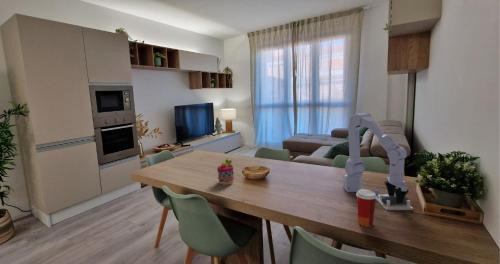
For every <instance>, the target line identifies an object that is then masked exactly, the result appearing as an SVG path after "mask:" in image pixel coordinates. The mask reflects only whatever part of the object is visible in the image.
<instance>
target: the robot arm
mask: <svg viewBox="0 0 500 264" xmlns="http://www.w3.org/2000/svg"><path fill="white" fill-rule="evenodd" d="M348 122H349V123H348V128H347V129H348V151H349V153H348V154H349V158H348V159H347V160H346V161H345V165H344V166H345V167H344V171H345V172H346V174H343V176H342V177H343V178H342V179H343V180H342V188H343V189H344V190H345V192H346V193H357V192H358V190H361V189H363V188H362V185H363V184H362V183H363V182H362V180H363V174H364V172H365V170H366V167H365V164H364V160H363V159H362V158H361V145H360V140H361V139H360V130H362V128H367V129H369V131H371V132H372V134H373V135H374V136H375V137H377V139H378V143H379V144H380V146H381V147H382V148H383V149H384V150H385V151H386V152H387V153H386V154H387V158H388V160H389V174H388V176H386V181H384V185H385V187H386V190H387V194H388V195H389V196H394V193H395V194H396V201H397V203H402V202H403V200H404V197H407V195H408V193H409V192H410V191H409V189H408V186H406V180H404V175H405V159H406V158H407V157H408V150H407V149H406V148H405V147H404V146H401V145H399V143H397V142H396V141H395V139H393V136H391V135H389V134H385V133H384V131H383V130H382V129H381V127H380V126H379V125H378V123H377V122H376V121H375V118H374V116H372V114H371V113H369V112H362V113H353V114H352V115H351V116H350V117H349V121H348Z"/></svg>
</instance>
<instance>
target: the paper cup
mask: <svg viewBox="0 0 500 264" xmlns="http://www.w3.org/2000/svg"><path fill="white" fill-rule="evenodd" d="M355 193H356V194H355V196H356V203H357V205H356V206H357V208H356V209H357V222H358V224H359V225H360V226H362V227H366V228H370V227H372V226H373V224H374V217H375V216H374V214H375V208H376V207H375V206H376V197H377V196H376V194H375V191H373V190H369V189H366V188H365V189H364V188H362V189H361V190H358V192H355Z"/></svg>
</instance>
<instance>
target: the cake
mask: <svg viewBox="0 0 500 264" xmlns="http://www.w3.org/2000/svg"><path fill="white" fill-rule="evenodd" d="M232 162H233V160H231V159H228V158H227V159H225V160H224V161H222V162H221V165H219V166H217V176H218V177H217V179H218V185H220V184H222V185H221V186H223V185H226V186H229V185H228V184H231V185H233V184H234V183H233V182H235V181H234V180H235V175H234V166H233V164H232ZM232 183H233V184H232Z"/></svg>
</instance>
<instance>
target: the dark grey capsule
mask: <svg viewBox="0 0 500 264" xmlns="http://www.w3.org/2000/svg"><path fill="white" fill-rule="evenodd" d="M387 200H390V204H406V202H407V200H409V198H408V197H407V196H405V197H404V200H403V202H402V203H397V201H396V196H386V197H383V198H382V202H383V203H384V204H387Z"/></svg>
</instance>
